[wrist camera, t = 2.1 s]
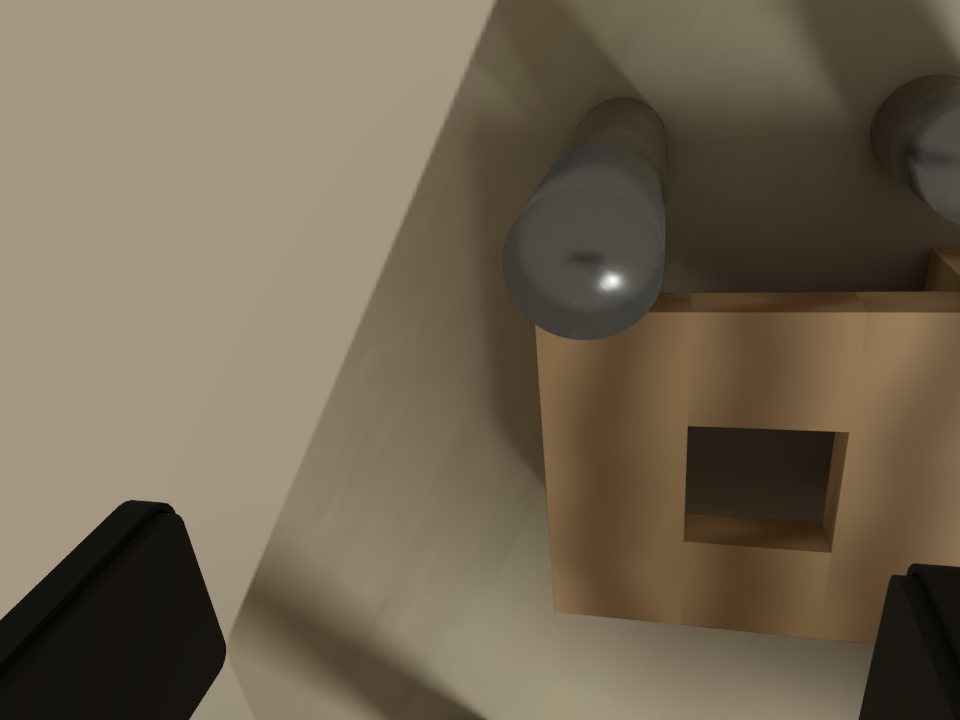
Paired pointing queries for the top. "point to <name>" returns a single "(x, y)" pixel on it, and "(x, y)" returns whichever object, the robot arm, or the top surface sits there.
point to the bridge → (759, 405)
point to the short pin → (923, 141)
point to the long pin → (594, 227)
